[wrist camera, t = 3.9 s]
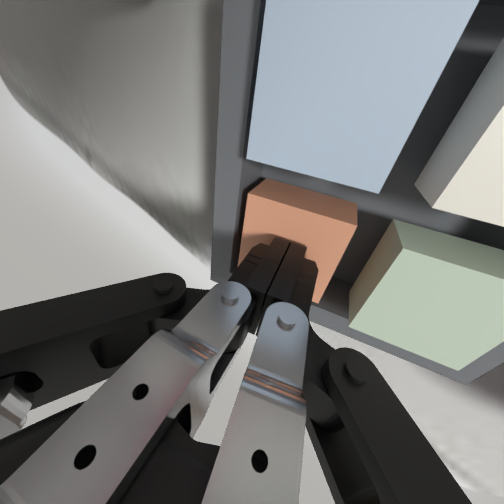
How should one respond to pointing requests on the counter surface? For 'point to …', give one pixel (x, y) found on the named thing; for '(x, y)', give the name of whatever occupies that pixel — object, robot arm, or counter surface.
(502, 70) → the cream key
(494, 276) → the sage key
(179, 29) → the counter surface
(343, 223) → the terracotta key
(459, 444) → the counter surface
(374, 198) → the keypad base
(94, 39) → the counter surface
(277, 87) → the blue key
